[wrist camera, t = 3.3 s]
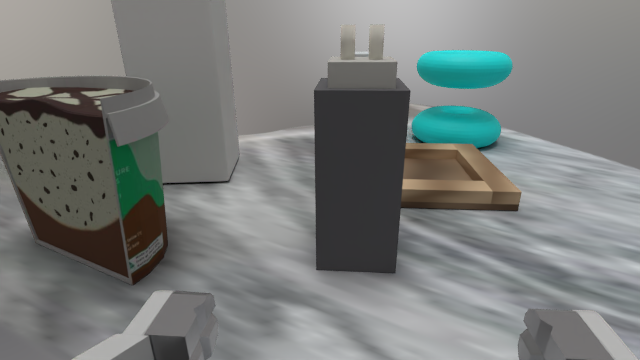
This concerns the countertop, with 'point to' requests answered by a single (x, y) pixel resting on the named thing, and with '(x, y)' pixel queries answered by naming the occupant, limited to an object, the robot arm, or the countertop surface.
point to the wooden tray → (454, 179)
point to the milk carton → (185, 81)
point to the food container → (88, 168)
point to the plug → (359, 158)
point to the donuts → (463, 74)
